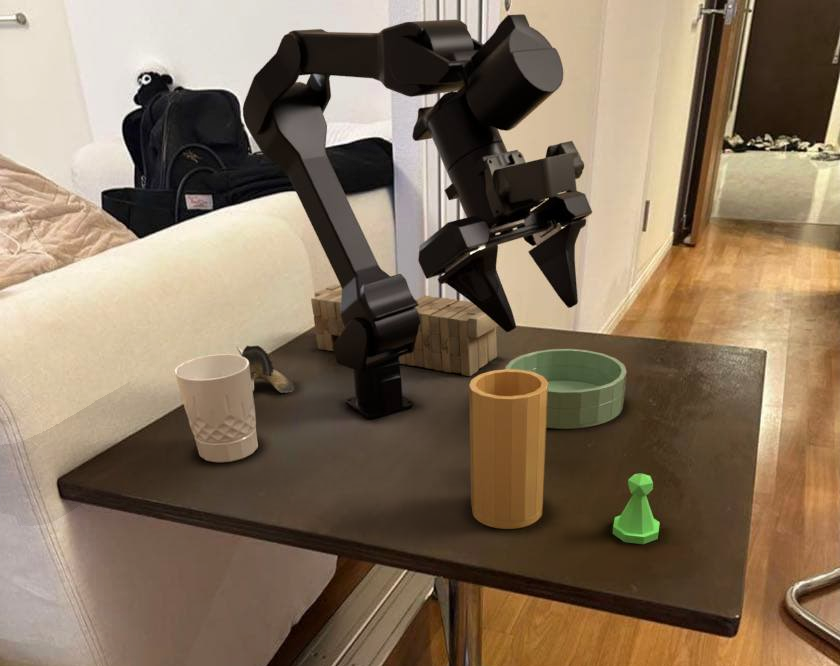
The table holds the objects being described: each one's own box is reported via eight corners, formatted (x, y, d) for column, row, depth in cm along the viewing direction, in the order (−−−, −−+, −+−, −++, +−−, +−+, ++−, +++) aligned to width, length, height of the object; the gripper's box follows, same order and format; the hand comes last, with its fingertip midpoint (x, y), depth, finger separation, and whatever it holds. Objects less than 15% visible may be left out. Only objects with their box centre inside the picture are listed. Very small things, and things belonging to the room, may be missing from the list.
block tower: (311, 353, 119) (478, 379, 105) (302, 297, 115) (475, 315, 100) (343, 337, 125) (506, 359, 110) (335, 283, 120) (505, 299, 106)
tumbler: (458, 507, 77) (454, 381, 70) (513, 486, 80) (515, 363, 73) (500, 537, 72) (501, 405, 65) (557, 514, 75) (564, 385, 68)
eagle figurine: (211, 394, 102) (272, 385, 99) (209, 339, 102) (269, 329, 99) (244, 404, 109) (301, 396, 106) (242, 353, 110) (299, 344, 106)
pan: (482, 400, 99) (481, 366, 96) (568, 374, 105) (570, 341, 102) (556, 439, 89) (558, 402, 86) (647, 407, 95) (652, 371, 92)
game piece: (667, 542, 70) (675, 482, 67) (619, 546, 70) (625, 487, 67) (650, 517, 74) (658, 460, 71) (605, 521, 74) (610, 464, 70)
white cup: (203, 472, 86) (184, 385, 81) (186, 445, 92) (167, 363, 87) (272, 454, 89) (258, 369, 84) (251, 429, 95) (237, 349, 90)
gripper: (457, 119, 61) (538, 308, 63) (600, 97, 71) (666, 259, 73) (383, 193, 70) (455, 356, 72) (519, 163, 81) (579, 306, 82)
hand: (543, 317), depth 75 cm, fingers open, 9 cm apart
